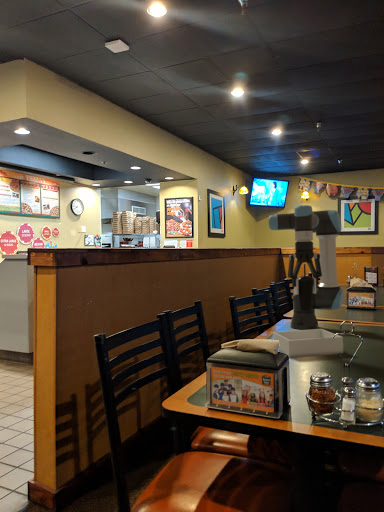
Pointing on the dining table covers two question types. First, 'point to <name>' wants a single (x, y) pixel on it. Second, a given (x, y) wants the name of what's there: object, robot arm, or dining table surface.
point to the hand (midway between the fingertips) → (305, 293)
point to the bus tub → (309, 342)
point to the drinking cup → (305, 291)
